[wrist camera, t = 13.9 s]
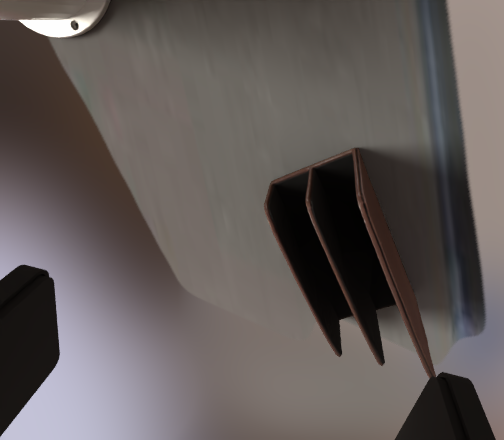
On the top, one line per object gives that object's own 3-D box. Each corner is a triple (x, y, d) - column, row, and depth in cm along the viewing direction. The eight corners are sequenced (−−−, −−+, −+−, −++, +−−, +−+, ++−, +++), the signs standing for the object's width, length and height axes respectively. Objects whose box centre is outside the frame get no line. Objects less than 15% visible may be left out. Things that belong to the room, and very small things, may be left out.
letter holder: (357, 144, 40) (371, 199, 28) (414, 294, 47) (447, 392, 34) (269, 180, 43) (246, 243, 31) (335, 315, 50) (338, 411, 37)
